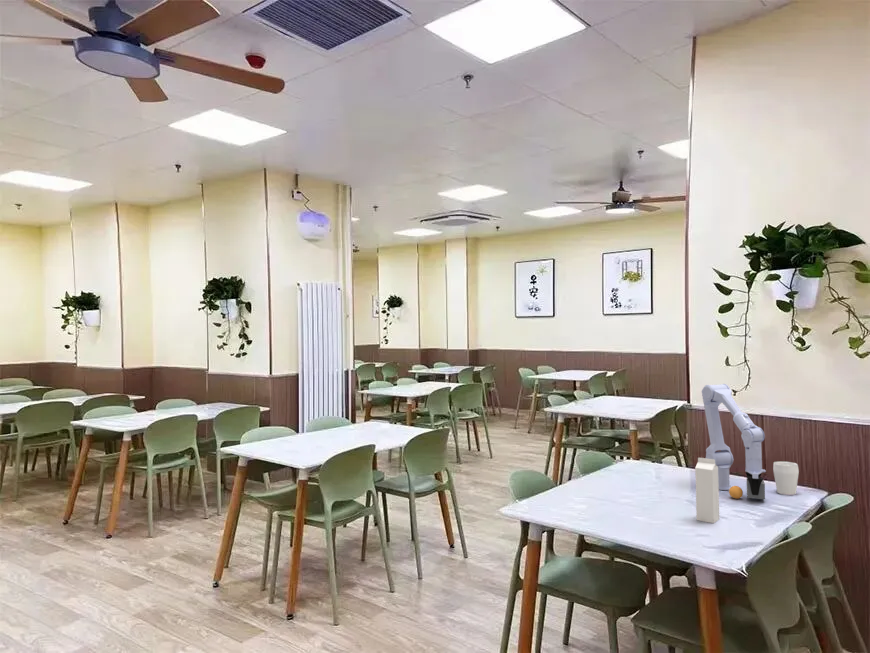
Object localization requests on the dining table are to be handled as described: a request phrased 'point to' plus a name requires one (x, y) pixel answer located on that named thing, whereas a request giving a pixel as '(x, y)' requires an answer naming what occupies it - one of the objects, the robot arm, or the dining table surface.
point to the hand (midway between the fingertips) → (754, 492)
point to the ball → (735, 492)
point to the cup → (786, 477)
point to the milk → (707, 490)
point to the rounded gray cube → (761, 491)
